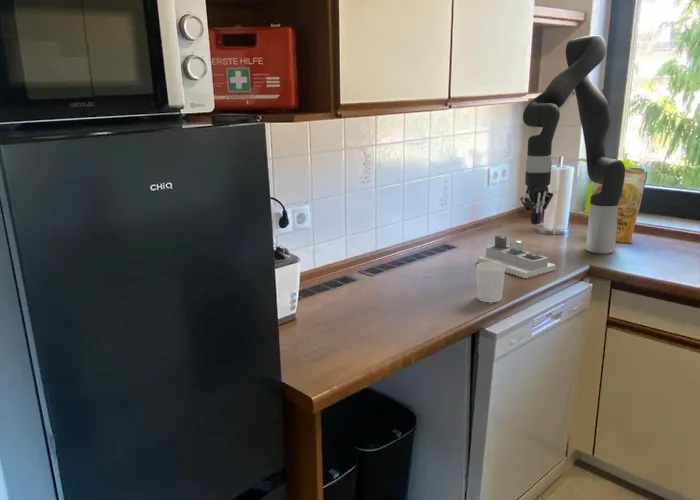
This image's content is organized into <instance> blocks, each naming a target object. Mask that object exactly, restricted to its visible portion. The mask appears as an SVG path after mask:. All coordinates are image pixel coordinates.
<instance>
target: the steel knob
mask: <svg viewBox="0 0 700 500" xmlns="http://www.w3.org/2000/svg"><path fill="white" fill-rule="evenodd" d="M523 244H524V240H522V239H517V238H514V239H511V240H510V244H509V247H510V252H514V253H521V252H522V250H523V246H524V245H523Z"/></svg>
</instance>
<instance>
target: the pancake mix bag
mask: <svg viewBox="0 0 700 500" xmlns="http://www.w3.org/2000/svg"><path fill="white" fill-rule="evenodd" d="M647 178H648V171H645V169H644V168H641V167H639V168H637V167H626V166H625V178H624V184H623V190H622V195H621V197H620V199H619V203H618V213H617V222H616V224H617V234H616V243H619V244H620V243H622V244H626V243H627V244H630V243H631V244H632V243H633V236H632V235H633V233H634V230H635V226H636V222H637V217H638V215H639V212H640V208H641V204H642V201H643V197H644V196H643V195H644V190H645V186H646V183H647ZM601 189H602V184H598V183H594V182H592V190H591V191H592V193H591V194H592V195H593V194H597V193H600V192H601ZM592 195H591V196H592Z"/></svg>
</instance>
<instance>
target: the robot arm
mask: <svg viewBox="0 0 700 500" xmlns="http://www.w3.org/2000/svg"><path fill="white" fill-rule="evenodd" d="M606 53H607V44H606V40H605V39H604V37H603V36H601V34H600V35H599V34H593V35H586V36H581V37H577V38H572V39H570V40H569V41H568V42H567V44H566V46H565V59H566V64H567V68H566V69H565V70H563V71H560V73H559V74H558V75H556V76H555V77H554V78H553V79H552V80H551V82H550V83H548V85H547V87H546V88H545V89H544V91H543V92H541V93H540V94H539V95H537V96H536V97H535V98H534V99H532V100H531V101H530V102H529V103H528V104H527V105H526V106H525V108H524V111H523V113H522V120H523V124H525V126H528V127H530V128H542V130H541V132H540V133H538V134H534V135H531V136H529V137H528V140H527V153H526V161H525V173H524V174H525V175H524V176H525V180H524V183H525V185H526V191H525V195H524V196H521V197H520V201H521V204H522V205H523V207H524V209H525V210H526V211H527V212H530V213H531V214H530V222H531V224H532V225H539V224H541V220H542V219H541V217H542V216H541V215H542V212H543V210H544V211H545V210H547V208H548V206H549V204H550V202H551V201H552V199H553V196H554V193H553V192H550V191H549V187H548V186H550V185H551V180H552V178H551V177H552V176H551V175H552V165H553V164H552V163H553V161H552V145H553V141H554V140H553V139H554V136H555V133H556V130H557V127H558V123H559V122H560V117H561V116H560V115H561V114H560V108H561V107H562V106H564V104H565V103H566V101H567V100H568V98H569V97H570V95H571V94H572V93H573V92H574V93H575V97H576V102H577V108H578V115H579V120H580V125H581V128H582V134H583V140H584V147H585V156H586V157H585V159H586V170H587V175H588V178H589V180H590V181H591V182H592V183H593V182H594V183H598V184H602V189H601V192H600V193H597V194H593V195H590V200H589V211H588V213H589V214H588V223H587V224H588V225H587V235H586V244H585V250H586V251H588V252H589V253H593V254H601V255H603V254H611V253H614V251H615V249H616V243H617V242H616V234H617V224H616V222H617V213H618V203H619V199H620V197H621V195H622V190H623V184H624V178H625V167H626V166H625V164H624V162H623V161H622V160H620V159H618V158H610V157H606V156H607V155H606V153H605V152H606V151H605V146H604V145H605V144H604V143H605V138H606V135H607V133H608V130H609V128H610V125H611V113H610V107H609V102H608V100H607V98H606V96H605V95H604V94H603V93H602V91H601V90H600V89H599V88H598V87H597V86H596V84H594V82H593V81H592V80H591V78H590V77H589V74H590V73H591V72H592V71H593V70H594V69H595V68H596V67H598V66H599V64H600V63H602V61H603V60H604V58H605V56H606Z"/></svg>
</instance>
